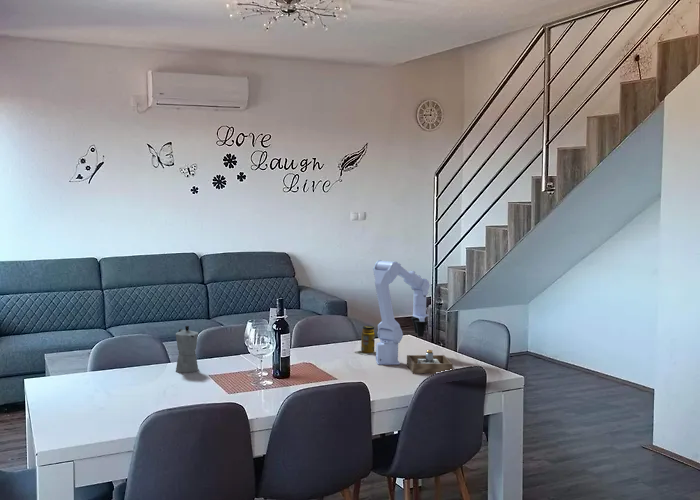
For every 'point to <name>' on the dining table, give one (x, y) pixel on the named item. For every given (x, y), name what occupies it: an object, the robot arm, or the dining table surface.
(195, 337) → the coffeepot
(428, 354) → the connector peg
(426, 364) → the walled box
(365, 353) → the condiment
